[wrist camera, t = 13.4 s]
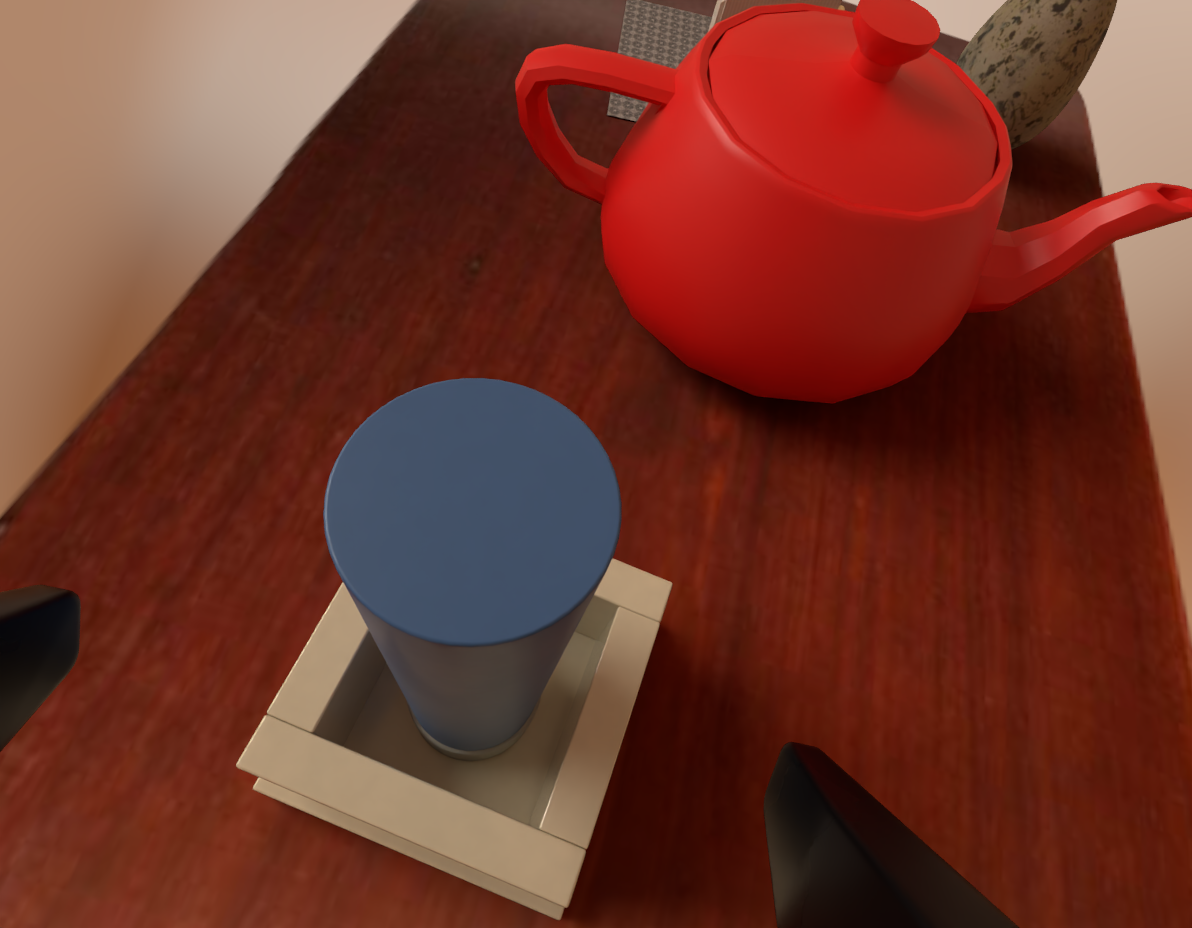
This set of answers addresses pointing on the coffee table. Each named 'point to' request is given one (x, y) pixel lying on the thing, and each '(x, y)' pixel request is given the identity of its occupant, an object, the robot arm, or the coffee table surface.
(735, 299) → the teapot
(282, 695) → the holder
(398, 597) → the cylinder
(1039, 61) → the decorative egg
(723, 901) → the coffee table surface
